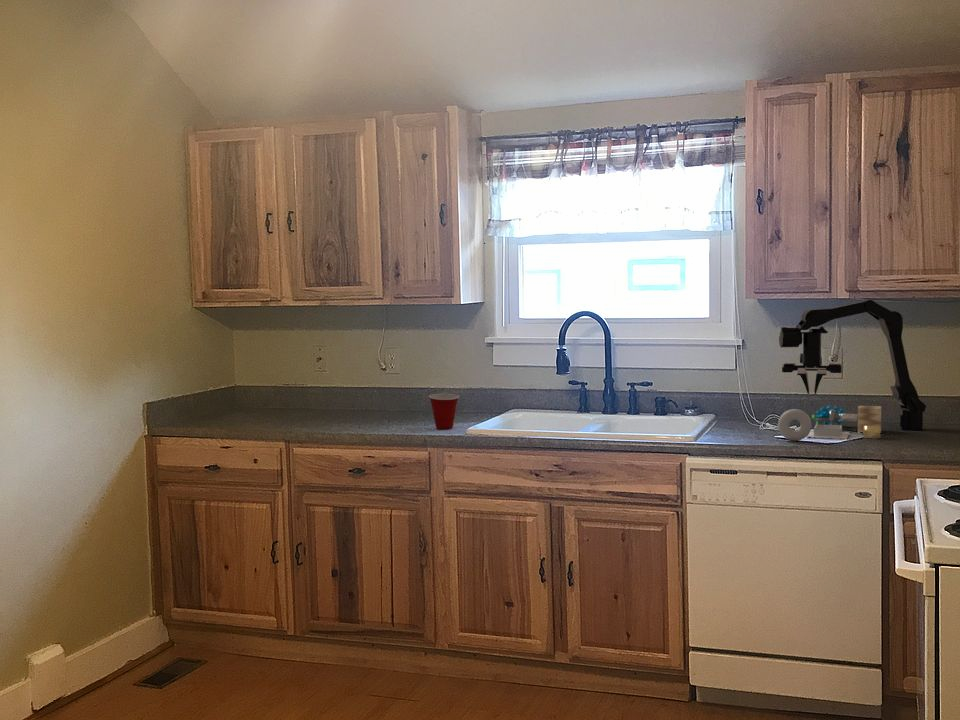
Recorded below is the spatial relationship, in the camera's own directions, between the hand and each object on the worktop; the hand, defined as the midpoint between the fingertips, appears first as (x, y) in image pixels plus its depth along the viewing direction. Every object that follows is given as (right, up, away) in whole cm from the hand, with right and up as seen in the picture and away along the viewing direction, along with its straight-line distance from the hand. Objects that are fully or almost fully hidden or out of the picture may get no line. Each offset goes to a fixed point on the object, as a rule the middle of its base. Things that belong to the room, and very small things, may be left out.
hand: (811, 393), depth 333 cm
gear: (+9, -12, +8) cm, 17 cm away
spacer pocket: (0, -13, -14) cm, 19 cm away
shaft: (+11, -10, -4) cm, 16 cm away
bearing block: (+17, -12, -6) cm, 22 cm away
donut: (-13, -14, -23) cm, 30 cm away
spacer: (+12, -13, -19) cm, 27 cm away
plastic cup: (-123, -13, +20) cm, 125 cm away
